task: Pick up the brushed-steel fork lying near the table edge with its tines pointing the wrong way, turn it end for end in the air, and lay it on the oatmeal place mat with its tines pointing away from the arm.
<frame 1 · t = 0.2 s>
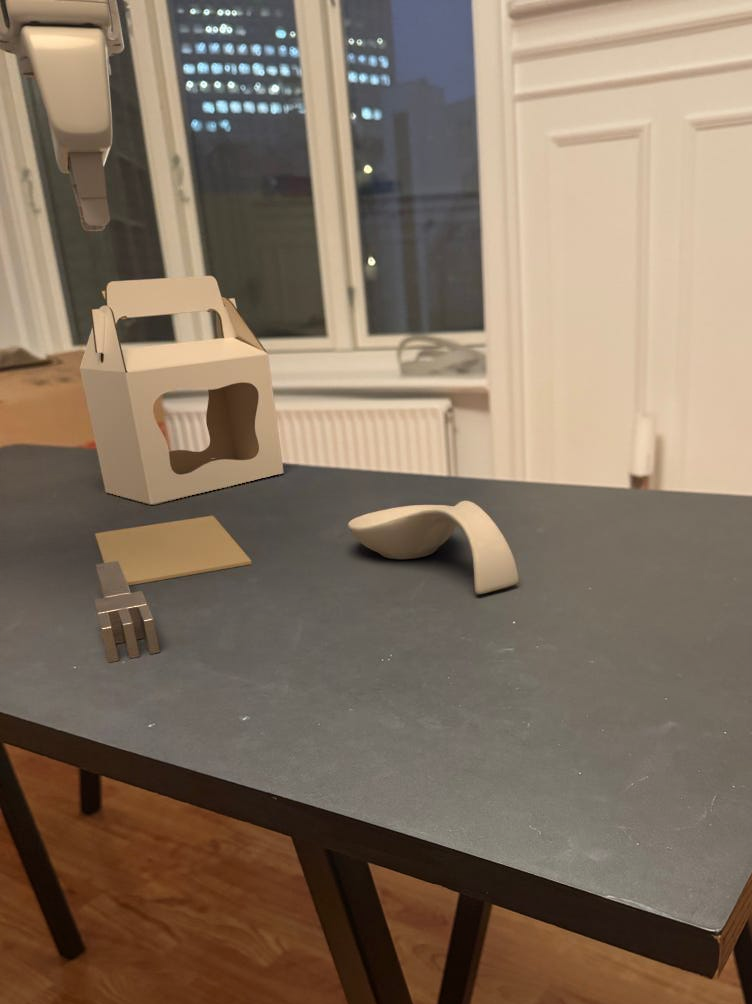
hand: (96, 228, 73), 32 cm above the table, tool pointing down, fingers open, 8 cm apart
fork: (134, 657, 75), on the table
place mat: (168, 549, 103), on the table
spoon rest: (435, 565, 94), on the table
gable box: (197, 485, 134), on the table
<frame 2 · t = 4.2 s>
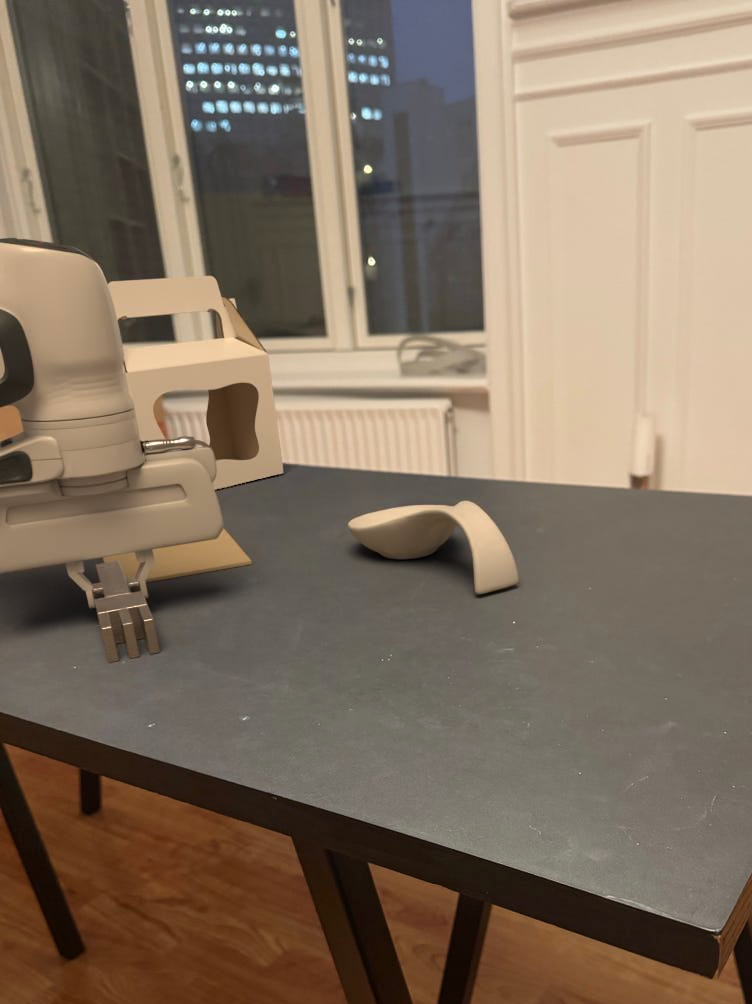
hand: (118, 601, 83), 2 cm above the table, tool pointing down, fingers closed on fork, 2 cm apart
fork: (134, 657, 75), on the table, touching gripper
everything else where it was.
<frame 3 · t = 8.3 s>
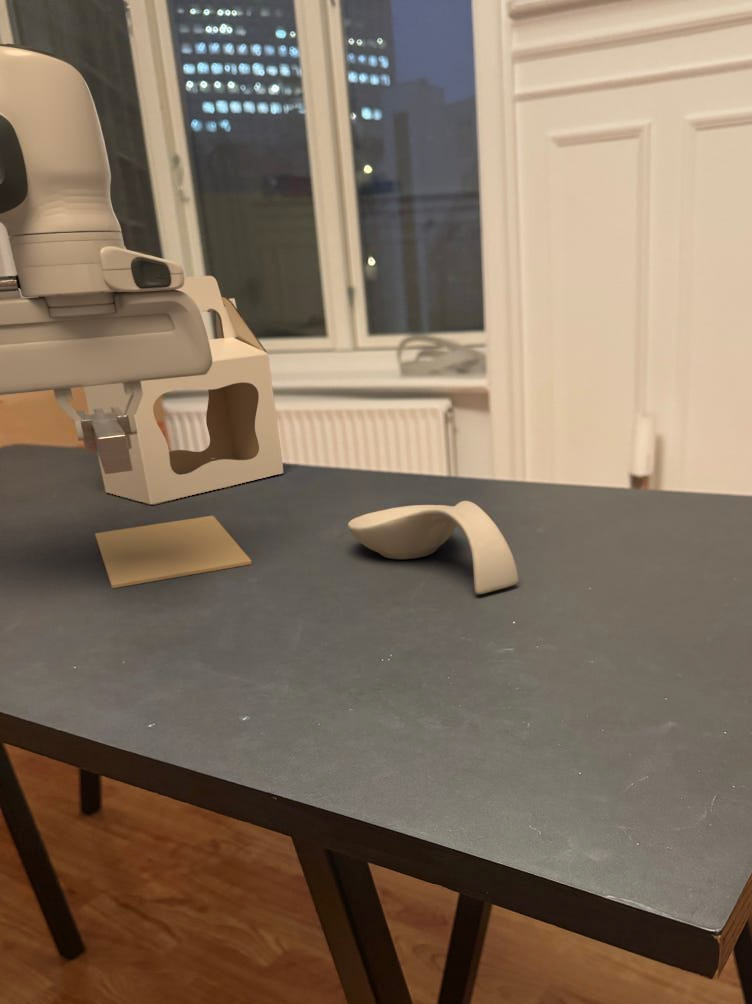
hand: (108, 436, 83), 15 cm above the table, tool pointing down, fingers closed on fork, 2 cm apart
fork: (104, 438, 93), point 14 cm above the table, touching gripper
everything else where it was.
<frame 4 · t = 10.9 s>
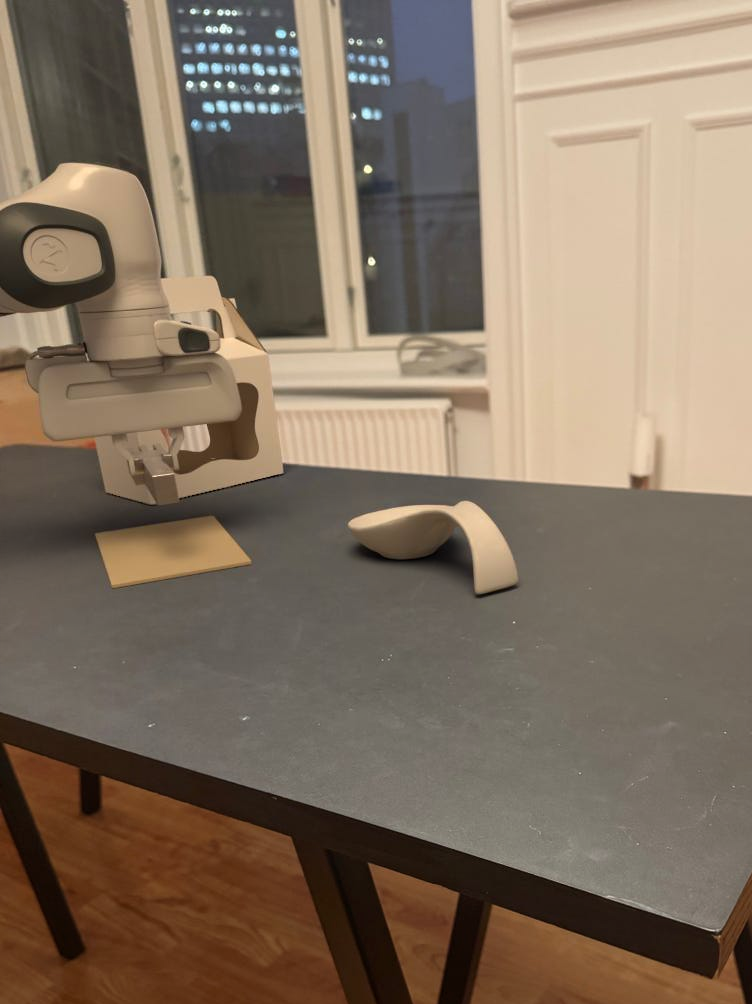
hand: (155, 472, 100), 9 cm above the table, tool pointing down, fingers closed on fork, 2 cm apart
fork: (146, 470, 109), point 7 cm above the table, touching gripper
everything else where it was.
when the fingers open (2 cm above the table, at t = 12.7 s): fork stays where it is, resting on place mat.
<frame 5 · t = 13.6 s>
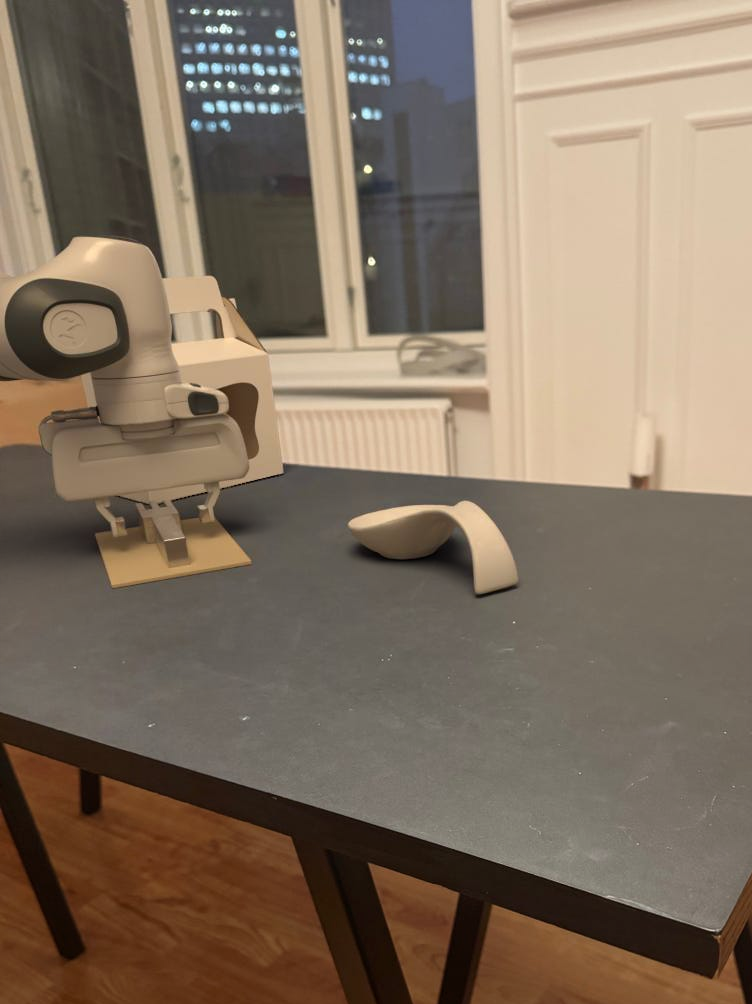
hand: (164, 528, 103), 2 cm above the table, tool pointing down, fingers open, 8 cm apart
fork: (156, 525, 112), resting on place mat
everything else where it was.
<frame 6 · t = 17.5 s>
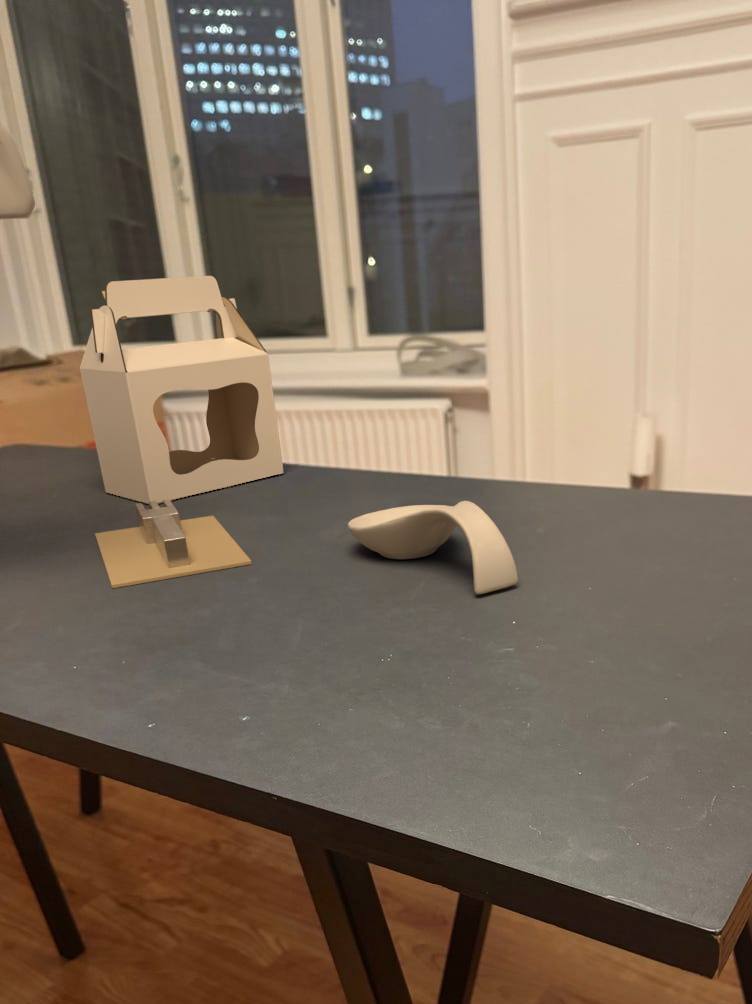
nothing on the table moved.
at the end: fork 0.4 cm from the target spot on the place mat, point 0.4 cm above the place mat's base; fork tilted 0°; the gripper is holding nothing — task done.
